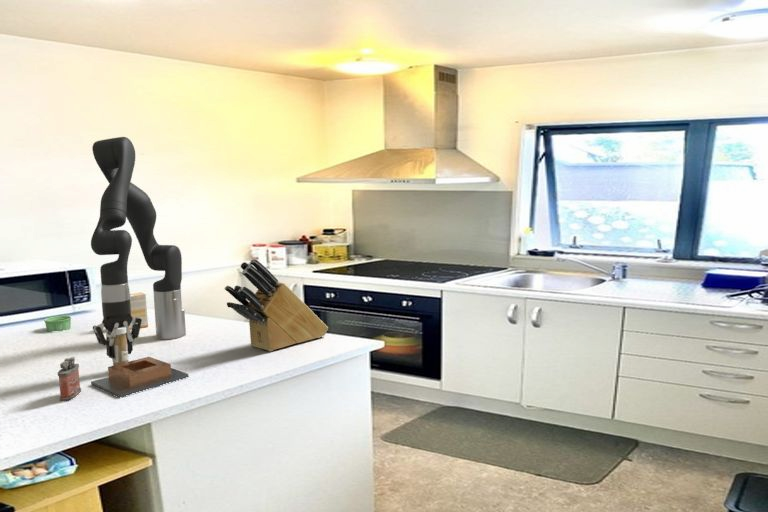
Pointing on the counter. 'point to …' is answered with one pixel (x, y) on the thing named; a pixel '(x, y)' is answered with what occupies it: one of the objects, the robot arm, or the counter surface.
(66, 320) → the ramekin
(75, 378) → the lighter
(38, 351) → the counter surface
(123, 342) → the spice jar
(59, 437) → the counter surface
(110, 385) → the collar deck
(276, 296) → the knife block
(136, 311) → the supplement box
